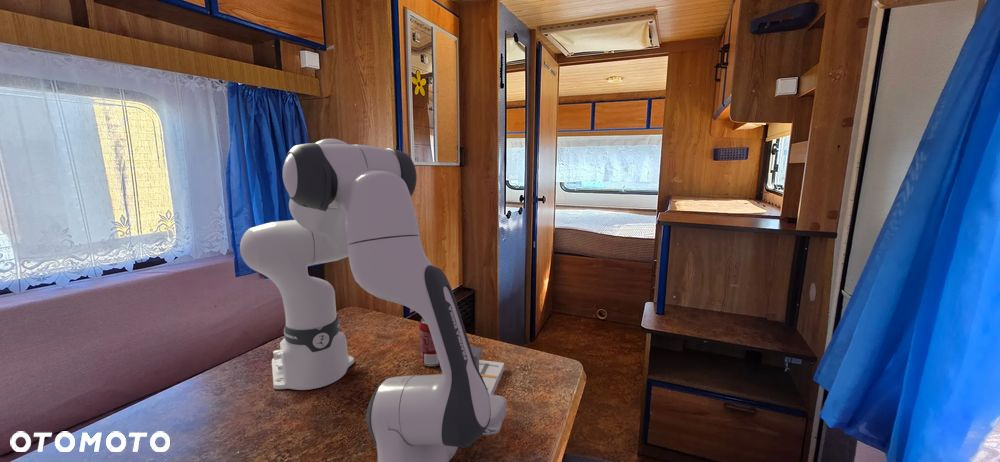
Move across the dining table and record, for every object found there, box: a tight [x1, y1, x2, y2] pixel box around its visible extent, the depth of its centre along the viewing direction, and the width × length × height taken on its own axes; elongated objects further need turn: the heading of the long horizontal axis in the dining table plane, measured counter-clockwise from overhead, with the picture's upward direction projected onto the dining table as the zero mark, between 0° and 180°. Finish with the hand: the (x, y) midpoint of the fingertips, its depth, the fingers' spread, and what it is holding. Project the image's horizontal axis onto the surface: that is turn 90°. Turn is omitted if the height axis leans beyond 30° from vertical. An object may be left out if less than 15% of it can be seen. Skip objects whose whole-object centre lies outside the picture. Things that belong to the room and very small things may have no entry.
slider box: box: [479, 359, 505, 395], centre depth 89 cm, size 24×8×2 cm, turn 167°
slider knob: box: [470, 345, 483, 370], centre depth 83 cm, size 4×5×11 cm
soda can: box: [418, 317, 440, 367], centre depth 103 cm, size 7×7×12 cm
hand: (465, 383), depth 82 cm, fingers closed, pressing on slider knob
